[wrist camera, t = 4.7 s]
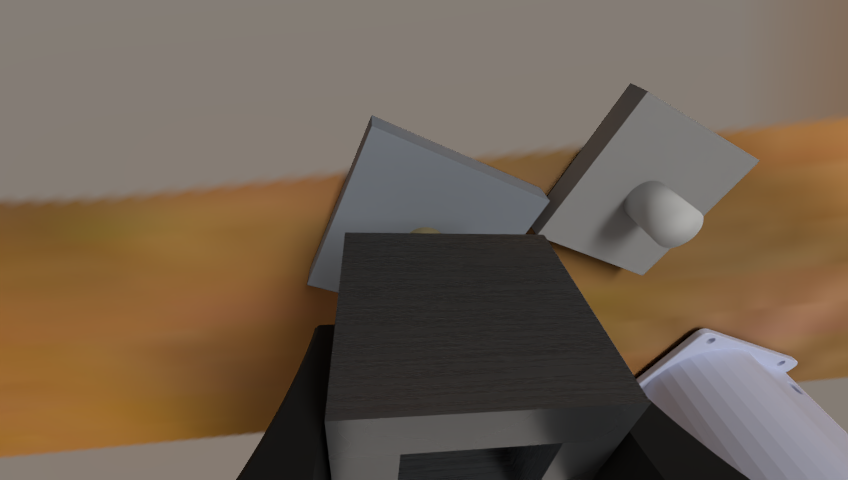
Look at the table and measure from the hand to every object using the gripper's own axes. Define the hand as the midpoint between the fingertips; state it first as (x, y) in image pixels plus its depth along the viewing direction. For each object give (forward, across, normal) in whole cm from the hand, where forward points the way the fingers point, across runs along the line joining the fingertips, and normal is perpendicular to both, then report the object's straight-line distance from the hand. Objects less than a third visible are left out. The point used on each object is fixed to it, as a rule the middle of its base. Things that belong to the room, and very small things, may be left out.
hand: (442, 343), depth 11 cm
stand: (+6, -8, -2) cm, 10 cm away
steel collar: (+1, 0, 0) cm, 1 cm away
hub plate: (+6, 0, 0) cm, 6 cm away
